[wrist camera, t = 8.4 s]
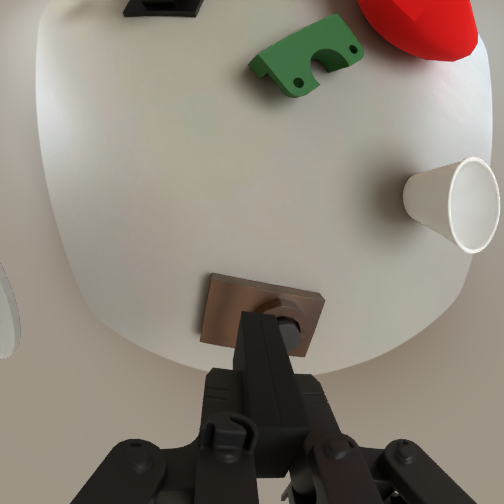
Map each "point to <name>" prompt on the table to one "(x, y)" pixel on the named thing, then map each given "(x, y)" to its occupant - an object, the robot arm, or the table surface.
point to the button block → (257, 309)
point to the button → (289, 333)
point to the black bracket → (162, 8)
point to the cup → (456, 202)
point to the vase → (425, 26)
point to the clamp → (308, 55)
